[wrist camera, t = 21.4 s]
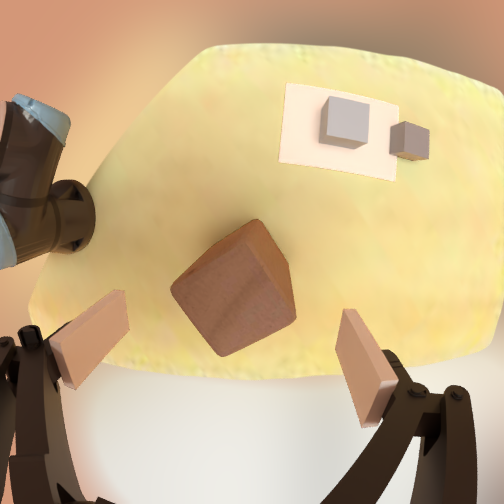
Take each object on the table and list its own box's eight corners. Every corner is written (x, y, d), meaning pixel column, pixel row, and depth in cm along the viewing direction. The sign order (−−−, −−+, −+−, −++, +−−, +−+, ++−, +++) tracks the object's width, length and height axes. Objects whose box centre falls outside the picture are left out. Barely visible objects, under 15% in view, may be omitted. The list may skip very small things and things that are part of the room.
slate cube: (318, 143, 41) (326, 134, 34) (321, 108, 39) (329, 95, 32) (354, 149, 40) (367, 143, 33) (356, 115, 39) (369, 104, 32)
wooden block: (208, 248, 46) (163, 289, 27) (258, 216, 44) (245, 237, 25) (241, 296, 48) (219, 363, 28) (290, 267, 46) (301, 322, 26)
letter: (278, 162, 42) (278, 162, 42) (286, 83, 39) (286, 82, 39) (394, 181, 41) (395, 181, 41) (398, 106, 38) (398, 105, 37)
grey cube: (389, 154, 40) (404, 151, 35) (390, 126, 38) (405, 121, 34) (412, 160, 40) (428, 159, 35) (413, 134, 39) (429, 130, 34)
